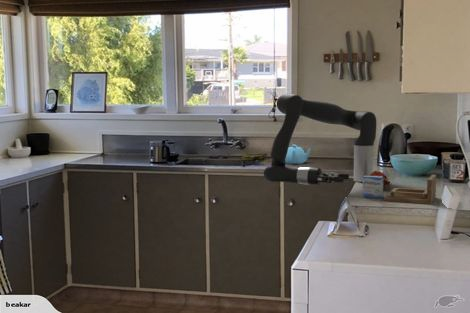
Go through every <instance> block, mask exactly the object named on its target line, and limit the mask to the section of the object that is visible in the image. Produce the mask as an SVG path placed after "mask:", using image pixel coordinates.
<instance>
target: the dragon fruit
mask: <svg viewBox="0 0 470 313" xmlns="http://www.w3.org/2000/svg"><path fill="white" fill-rule="evenodd" d="M369 176H383V189H384V188H387V186H389V185H390V183H391V180H390V181H389V179H388V176H387V175H386V174H385V173H383V172H381V171H380V170H379V171H378V170H374V172H372V173H371V174H370V175H369Z"/></svg>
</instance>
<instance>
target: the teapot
mask: <svg viewBox="0 0 470 313" xmlns="http://www.w3.org/2000/svg"><path fill="white" fill-rule="evenodd" d="M311 151H312V148H308V149H307V151H306V152H305V151H304V149H303V148H302V147H300V146H298V145H297V144H291V146H289V148H288V152H287V156H286V159H285V165H286V164H288V165H302V164H304V163H306V161H307V160H308V158H309V155H310V153H311Z"/></svg>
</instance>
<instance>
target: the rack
mask: <svg viewBox="0 0 470 313" xmlns="http://www.w3.org/2000/svg"><path fill="white" fill-rule="evenodd" d="M436 192H437V174H431V175H430V176H429V178H428V179H427V181H426V189H421V188H419V189H418V188H405V187H393V189H392V190H390V192H388V193H387V194H386V195H385V196H383V201H384V202H391V203H392V202H395V203H406V204H407V203H408V204H409V203H410V204H419V205H420V204H421V205H423V204H424V205H431V204H433V202H434V201H435V199H437V198H436V196H437V194H436Z"/></svg>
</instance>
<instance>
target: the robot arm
mask: <svg viewBox="0 0 470 313" xmlns="http://www.w3.org/2000/svg"><path fill="white" fill-rule="evenodd" d="M276 107H277V110H278V111H279V112H280V113H281V114H284V115H285V116H284V121H283V123H282V125H281V128H280V129H279V131H278V133H277V134H276V136H275V138H274V141H273V142H272V146H271V147H272V148H271V152H270V159H271V165H269V166H266V168H264V170H263V176H264V179H265V180H266V181H268V182H273V183H274V182H275V183H277V182H278V183H291V184H301V185H309V186H320V185H321V183H327V184H331V183H333V184H334V183H344V180H349V179H350V174H349V173H347V174H346V173H341V172H335V171H334V172H332V171H325V172H323V171H322V169H321V168H320V167H310V166H308V167H306V166H303V167H302V166H300V167H299V166H286V163H285V159H286V156H287V152H288V148H289V147H290V144H291V140H292V137H293V134H294V131H295V129H296V126H297V124H298V122H299V118H300V116H301V117H305V118H308V119H310V120H313V121H316V122H320V123H324V124H325V123H326V124H331V125H339V126H340V125H341V126H345V127H348V128H350V129H353V130H356V131H359V136H358V137H357V138H355V139H354V141H353V182H357V183H363V177H364V176H369V175H370V174H371V173H372V172H374V171H375V170H374V168H375V167H374V165H375V164H374V160H375V156H374V155H375V152H374V151H375V140H376V137H377V117H376V115H375V113H374V112H372V111H362V110H347V109H345V108H343V107H341V106H339V105H337V104H334V103H330V102H325V101H320V100H319V101H318V100H308V99H303V98H302V97H301V95H298V94H295V93H294V94H293V93H284V94H282V95H280V96H279V97H278V98H277V100H276Z"/></svg>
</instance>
